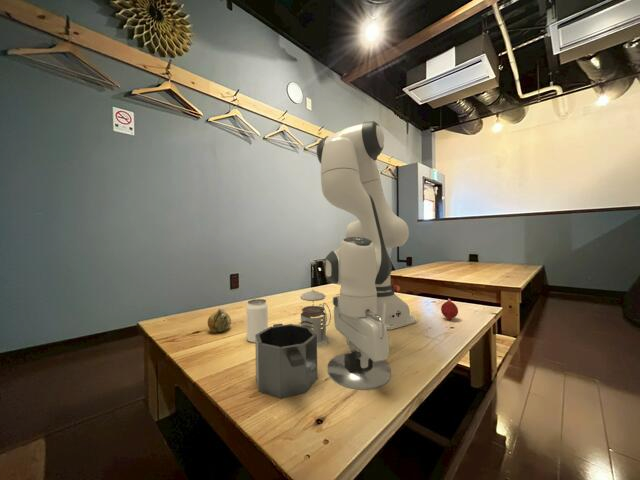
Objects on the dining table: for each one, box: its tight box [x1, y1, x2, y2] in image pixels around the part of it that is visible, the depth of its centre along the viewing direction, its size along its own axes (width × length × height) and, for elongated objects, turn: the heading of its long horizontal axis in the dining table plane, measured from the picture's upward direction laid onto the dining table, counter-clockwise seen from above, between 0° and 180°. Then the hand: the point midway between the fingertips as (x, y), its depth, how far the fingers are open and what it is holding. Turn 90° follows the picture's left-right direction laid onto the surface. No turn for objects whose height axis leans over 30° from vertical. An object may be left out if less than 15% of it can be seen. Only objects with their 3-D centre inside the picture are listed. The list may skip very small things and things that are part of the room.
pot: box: [255, 323, 318, 399], centre depth 57 cm, size 13×21×10 cm, turn 20°
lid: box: [326, 350, 392, 391], centre depth 60 cm, size 15×15×4 cm
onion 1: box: [207, 308, 232, 333], centre depth 86 cm, size 8×8×8 cm
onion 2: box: [440, 298, 459, 321], centre depth 95 cm, size 6×6×8 cm
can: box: [246, 298, 269, 344], centre depth 79 cm, size 6×6×12 cm
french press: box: [299, 259, 332, 347], centre depth 77 cm, size 10×12×25 cm
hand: (358, 361), depth 60 cm, fingers open, 3 cm apart
